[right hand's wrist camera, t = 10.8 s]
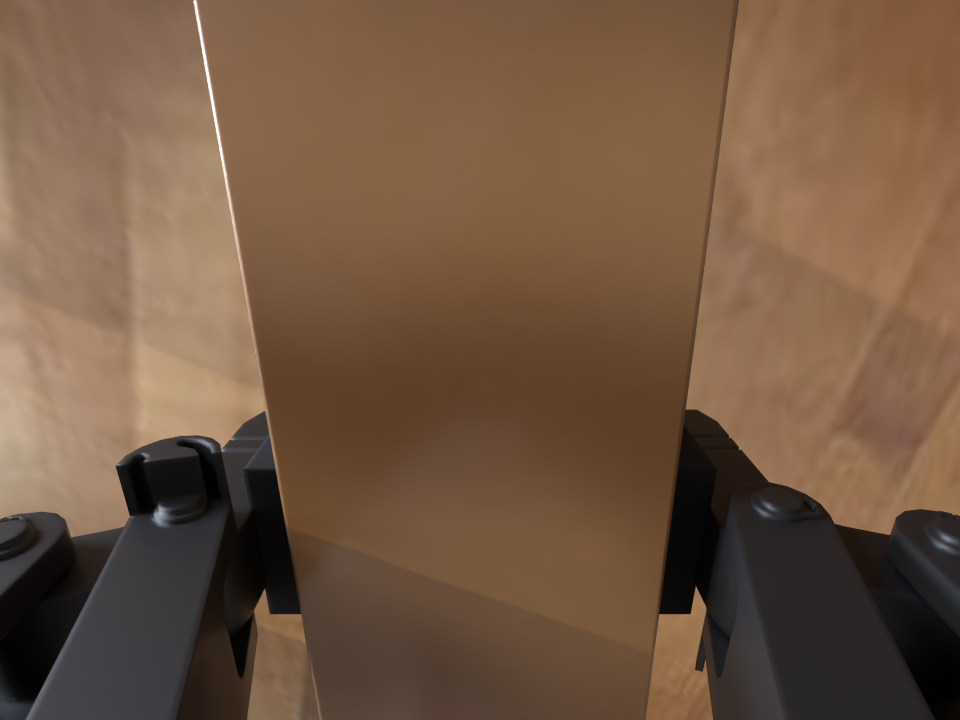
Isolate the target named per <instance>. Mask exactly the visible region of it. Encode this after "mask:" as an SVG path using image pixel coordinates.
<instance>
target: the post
mask: <svg viewBox="0 0 960 720" xmlns="http://www.w3.org/2000/svg"><path fill="white" fill-rule="evenodd" d="M193 2H194V8H195V13H196V19H197V25H198V30H199V36H200V42H201V47H202V53H203V59H204V65H205V70H206V76H207V82H208V87H209V93H210V99H211V104H212V110H213V116H214V121H215V127H216V133H217V138H218V144H219V150H220V155H221V161H222V167H223V172H224V178H225V184H226V190H227V195H228V201H229V207H230V212H231V218H232V224H233V229H234V235H235V241H236V246H237V252H238V258H239V263H240V269H241V275H242V280H243V286H244V292H245V297H246V303H247V309H248V314H249V320H250V326H251V332H252V337H253V343H254V349H255V354H256V360H257V366H258V371H259V377H260V383H261V388H262V394H263V400H264V405H265V411H266V417H267V422H268V428H269V434H270V439H271V445H272V451H273V456H274V462H275V468H276V474H277V479H278V485H279V491H280V496H281V502H282V508H283V513H284V519H285V525H286V530H287V536H288V542H289V547H290V553H291V559H292V564H293V570H294V576H295V581H296V587H297V593H298V598H299V604H300V610H301V616H302V621H303V627H304V633H305V638H306V644H307V650H308V655H309V661H310V667H311V672H312V678H313V684H314V689H315V695H316V701H317V706H318V712H319V718H320V720H645V718H646V710H647V703H648V695H649V687H650V680H651V672H652V664H653V657H654V649H655V641H656V633H657V626H658V618H659V610H660V603H661V595H662V587H663V580H664V572H665V564H666V556H667V549H668V541H669V533H670V526H671V518H672V510H673V503H674V495H675V487H676V479H677V472H678V464H679V456H680V449H681V441H682V433H683V425H684V418H685V410H686V402H687V395H688V387H689V379H690V372H691V364H692V356H693V348H694V341H695V333H696V325H697V318H698V310H699V302H700V295H701V287H702V279H703V271H704V264H705V256H706V248H707V241H708V233H709V225H710V218H711V210H712V202H713V194H714V187H715V179H716V171H717V164H718V156H719V148H720V140H721V133H722V125H723V117H724V110H725V102H726V94H727V87H728V79H729V71H730V63H731V56H732V48H733V40H734V33H735V25H736V17H737V10H738V2H739V0H193Z"/></svg>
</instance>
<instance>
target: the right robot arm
mask: <svg viewBox="0 0 960 720" xmlns="http://www.w3.org/2000/svg"><path fill="white" fill-rule="evenodd" d="M116 469H117V472H118V476H119V479H120V483H121V486H122V490H123V493H124V497H125V500H126V503H127V507H128V510H129V514H130V517H129V519H128V521H127V523H126V525H125V527H122V528H118V529H113V530H108V531H103V532H98V533H93V534H87V535H82V536H77V537H72V538H71V536H70V533H69V530H68V527H67V524H66V521H65V519H63V518H62V517H61V516H59V515H58V514H55V513H47V512H35V513H27V514H18V515H13V516H10V517H9V518H7V517H5V518H2V519H0V720H247V714H248V707H249V699H250V691H251V683H252V675H253V667H254V659H255V652H256V644H257V636H258V633H257V626H256V620H255V615H254V609H255V607H256V605H257V603H258V601H259V599H260V597H261V595H262V593H263V591H264V589H265V590H266V596H267V601H268V606H269V612H270V614H301V610H300V604H299V598H298V593H297V587H296V581H295V576H294V570H293V564H292V559H291V553H290V547H289V542H288V536H287V530H286V525H285V519H284V513H283V508H282V502H281V496H280V491H279V485H278V479H277V474H276V468H275V462H274V456H273V451H272V445H271V439H270V434H269V428H268V422H267V417H266V412H262V413H261V414H259V415H257V416H256V417H254V418H252V419H250V420H249V421H247V422H245V423H244V424H243V425H242V426H241V427H240V428H239V430H238V431H237V432H236V433H235V434H234V436H233V437H232V440H229V441H228V443H227V444H226V445H225V446H224V447H223V448H222V451H221V447H220V444H219V443H218V442H216V441H215V440H214V439H212V438H208V437H203V436H179V437H174V438H169V439H164V440H160V441H157V442H154V443H151V444H148V445H146V446H143V447H141V448H139V449H137V450H135V451H134V452H132V453H130V454H128V455H126V456H125V457H124V458H123V459H122V460H121V461H120V462H119V463H118V464H117V465H116ZM695 587H697V589H698V591H699V593H700V595H701V597H702V599H703V601H704V603H705V605H706V607H707V610H706V615H705V620H704V625H703V630H702V635H701V640H700V645H699V650H698V655H697V660H696V667H695V670H698V671H703V668H704V663H705V660H706V666H707V674H708V682H709V689H710V697H711V705H712V713H713V720H960V516H958V515H955V516H954V515H952V514H951V513H946V512H942V511H930V510H922V509H919V510H910V511H904V512H903V513H902V514H900V515H899V516H897V517H896V520H895V523H894V526H893V529H892V531H891V534H890V535H886V534H881V533H875V532H870V531H865V530H860V529H855V528H850V527H845V526H841V525H837V524H834V522H833V520H832V518H831V516H830V515H829V513H828V512H827V511H826V510H825V509H824V507H823V506H822V505H821V504H820V503H818V502H817V501H815V500H814V499H812V498H811V497H809V496H808V495H806V494H804V493H802V492H799V491H797V490H795V489H792V488H790V487H787V486H783V485H779V484H774V483H770V482H768V481H767V479H766V478H765V477H764V476H763V475H762V474H761V472H760V471H759V470H758V469H757V468H756V467H755V465H754V464H753V463H752V462H751V461H750V460H749V458H748V457H747V456H746V455H745V454H744V453H743V451H742V450H739V447H738V446H737V444H736V443H735V442H734V441H733V440H732V439H731V438H729V435H728V434H727V433H726V432H725V430H724V429H723V428H722V427H721V426H720V425H719V423H718V422H717V421H715V420H713V419H712V418H710V417H708V416H707V415H705V414H703V413H702V412H700V411H698V410H685V418H684V425H683V433H682V441H681V449H680V456H679V464H678V472H677V479H676V487H675V495H674V503H673V510H672V518H671V526H670V533H669V541H668V549H667V556H666V564H665V572H664V580H663V587H662V595H661V603H660V610H659V614H691V608H692V603H693V598H694V592H695Z"/></svg>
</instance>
